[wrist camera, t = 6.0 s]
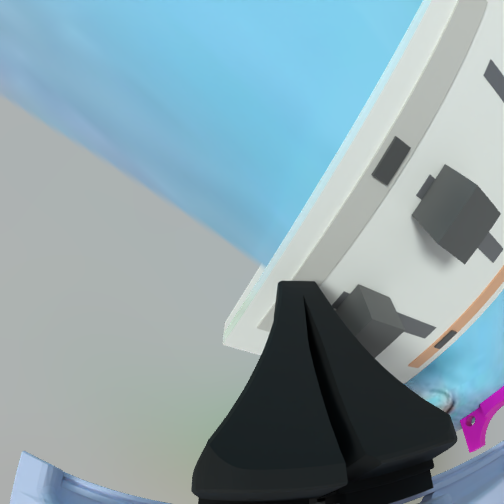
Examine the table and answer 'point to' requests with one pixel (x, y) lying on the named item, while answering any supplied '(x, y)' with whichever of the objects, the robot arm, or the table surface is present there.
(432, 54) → the switch panel
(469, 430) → the toy block
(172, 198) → the table surface
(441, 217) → the tab
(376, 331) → the tab
